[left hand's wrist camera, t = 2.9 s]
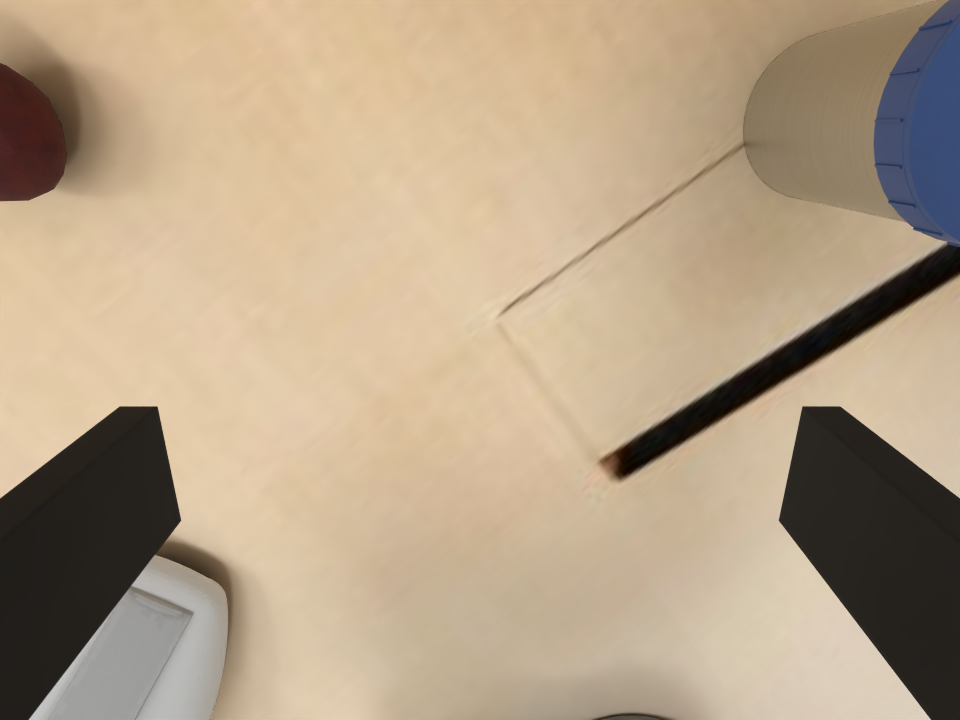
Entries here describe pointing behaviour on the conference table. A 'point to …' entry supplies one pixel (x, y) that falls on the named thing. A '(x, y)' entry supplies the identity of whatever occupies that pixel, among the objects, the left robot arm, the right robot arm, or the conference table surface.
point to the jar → (829, 112)
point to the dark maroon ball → (28, 140)
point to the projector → (150, 653)
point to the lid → (924, 129)
